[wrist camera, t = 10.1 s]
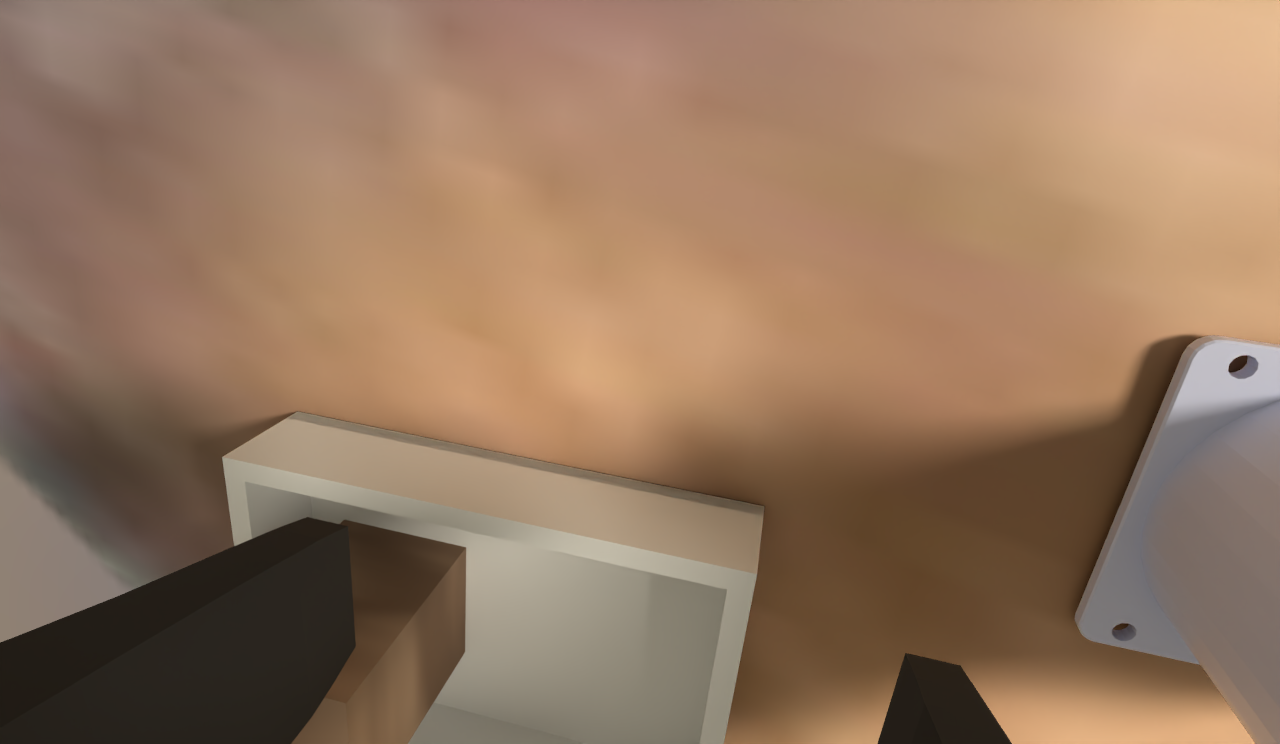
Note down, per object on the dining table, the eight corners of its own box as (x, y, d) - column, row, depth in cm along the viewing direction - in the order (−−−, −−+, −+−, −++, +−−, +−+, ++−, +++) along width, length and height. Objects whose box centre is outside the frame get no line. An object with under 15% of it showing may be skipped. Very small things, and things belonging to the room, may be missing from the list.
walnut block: (466, 547, 21) (346, 703, 16) (465, 651, 23) (355, 828, 17) (344, 519, 22) (187, 659, 16) (351, 623, 23) (210, 783, 18)
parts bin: (764, 506, 19) (757, 574, 16) (712, 777, 23) (698, 869, 20) (297, 411, 21) (221, 457, 19) (320, 671, 25) (261, 741, 22)
